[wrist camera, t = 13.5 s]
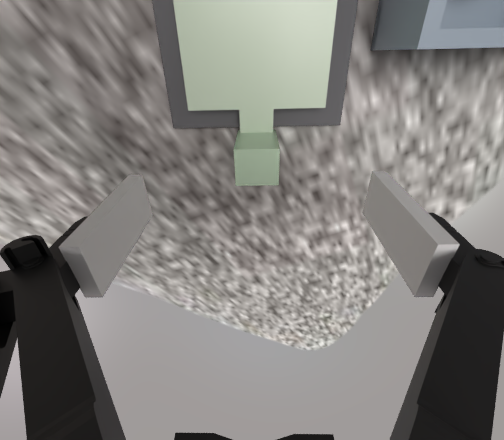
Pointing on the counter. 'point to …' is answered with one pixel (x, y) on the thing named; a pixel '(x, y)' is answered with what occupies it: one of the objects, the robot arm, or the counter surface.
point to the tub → (438, 24)
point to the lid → (255, 68)
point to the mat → (231, 118)
